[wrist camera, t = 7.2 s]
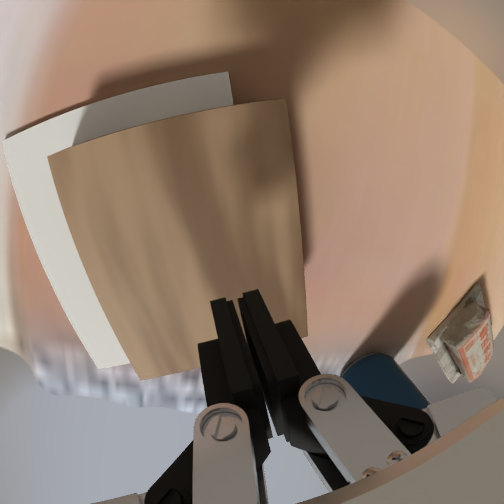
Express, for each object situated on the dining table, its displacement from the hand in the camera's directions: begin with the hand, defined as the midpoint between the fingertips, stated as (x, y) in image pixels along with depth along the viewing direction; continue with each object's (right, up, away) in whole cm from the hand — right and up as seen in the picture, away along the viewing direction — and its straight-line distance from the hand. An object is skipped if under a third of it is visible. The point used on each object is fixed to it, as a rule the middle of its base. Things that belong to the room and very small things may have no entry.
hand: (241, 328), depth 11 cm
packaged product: (+30, -9, +25) cm, 40 cm away
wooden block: (+2, +4, +7) cm, 9 cm away
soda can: (+12, -10, +20) cm, 25 cm away
